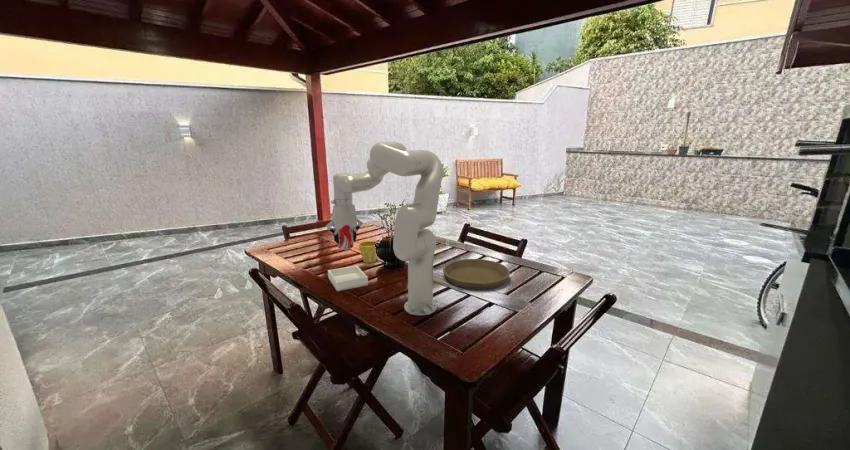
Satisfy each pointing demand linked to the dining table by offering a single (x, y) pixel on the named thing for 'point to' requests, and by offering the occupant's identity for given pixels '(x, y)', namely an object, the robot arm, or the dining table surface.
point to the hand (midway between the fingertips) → (345, 241)
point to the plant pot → (368, 251)
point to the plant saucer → (476, 273)
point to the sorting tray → (347, 278)
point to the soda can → (345, 237)
